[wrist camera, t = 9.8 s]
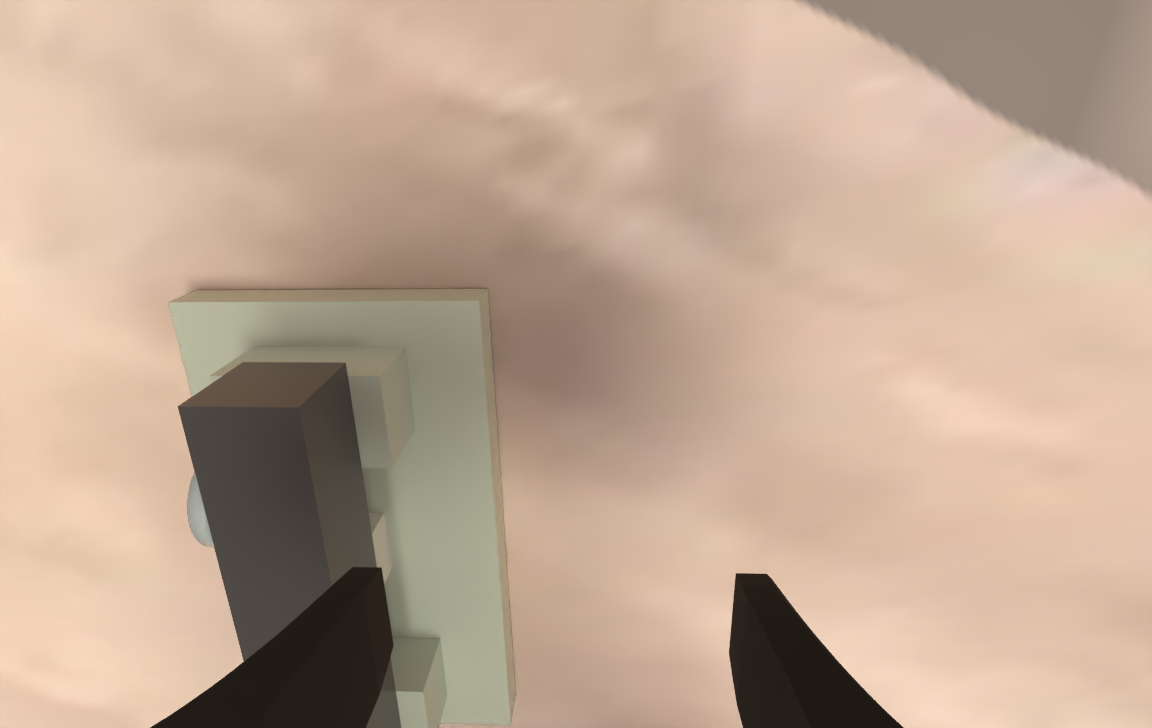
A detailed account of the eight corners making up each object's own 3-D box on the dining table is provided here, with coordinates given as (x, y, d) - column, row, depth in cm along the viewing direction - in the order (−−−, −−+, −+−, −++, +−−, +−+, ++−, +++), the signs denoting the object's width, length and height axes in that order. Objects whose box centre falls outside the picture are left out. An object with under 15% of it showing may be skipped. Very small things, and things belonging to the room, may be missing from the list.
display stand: (515, 694, 28) (501, 783, 24) (289, 688, 29) (241, 775, 25) (487, 288, 22) (462, 325, 18) (195, 290, 22) (112, 326, 18)
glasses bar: (407, 763, 24) (380, 848, 21) (312, 760, 24) (274, 843, 22) (345, 362, 18) (298, 407, 16) (222, 361, 19) (154, 405, 16)
